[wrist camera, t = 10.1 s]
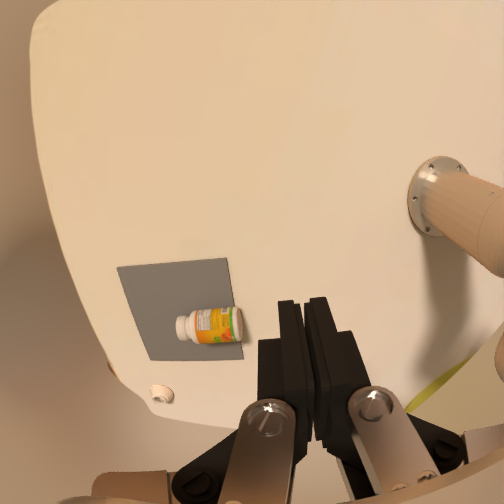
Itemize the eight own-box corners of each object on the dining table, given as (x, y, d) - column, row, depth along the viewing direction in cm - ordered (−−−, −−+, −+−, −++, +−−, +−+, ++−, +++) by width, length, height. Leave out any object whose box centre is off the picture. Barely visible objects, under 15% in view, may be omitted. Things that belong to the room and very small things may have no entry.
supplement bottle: (244, 343, 46) (186, 348, 47) (242, 311, 48) (185, 317, 49) (238, 336, 41) (173, 341, 42) (235, 301, 44) (173, 307, 45)
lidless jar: (174, 399, 58) (171, 385, 56) (172, 409, 56) (168, 395, 54) (153, 395, 58) (149, 381, 56) (149, 405, 56) (145, 391, 54)
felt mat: (226, 257, 44) (226, 258, 43) (243, 357, 52) (243, 359, 51) (117, 267, 45) (116, 268, 45) (151, 358, 53) (150, 360, 53)
